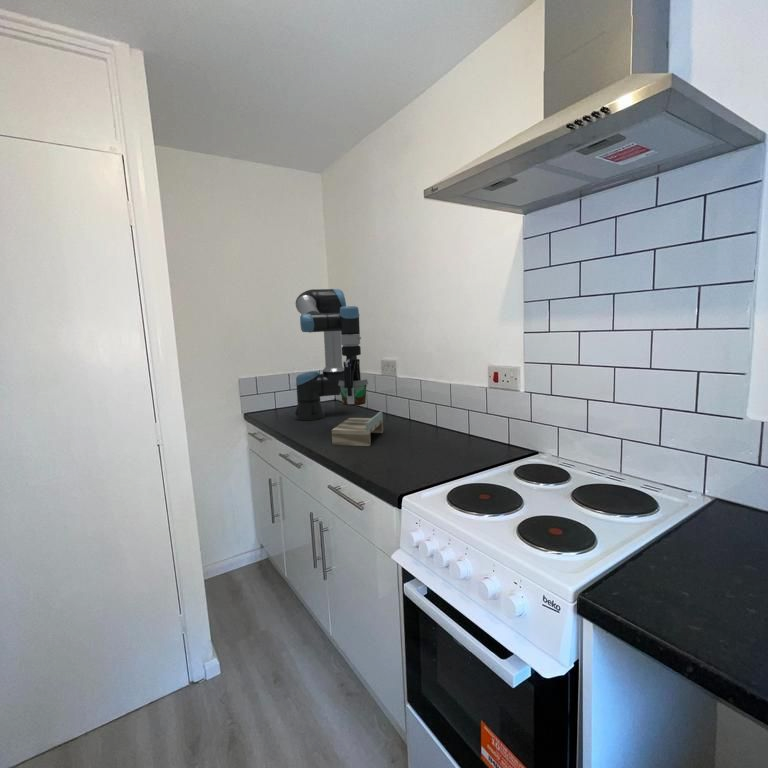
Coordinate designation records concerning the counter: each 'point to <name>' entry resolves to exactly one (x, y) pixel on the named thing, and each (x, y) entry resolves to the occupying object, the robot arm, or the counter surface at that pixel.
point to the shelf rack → (357, 431)
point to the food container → (355, 392)
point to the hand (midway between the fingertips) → (353, 402)
